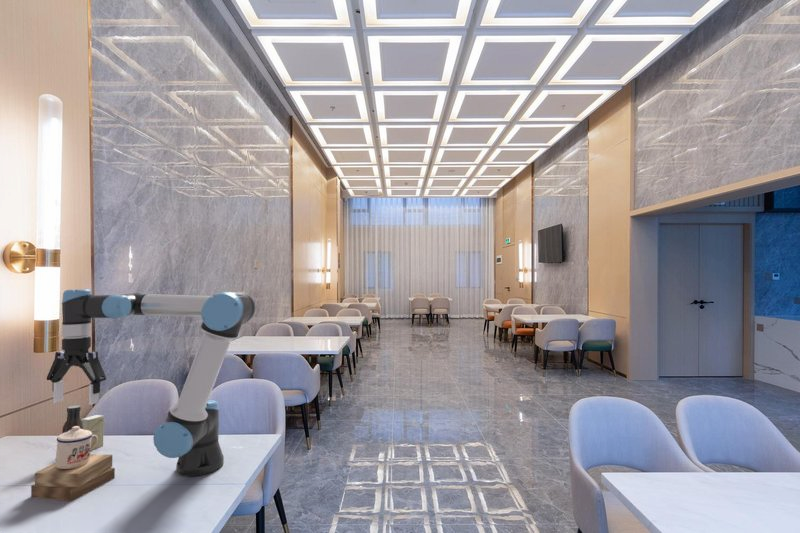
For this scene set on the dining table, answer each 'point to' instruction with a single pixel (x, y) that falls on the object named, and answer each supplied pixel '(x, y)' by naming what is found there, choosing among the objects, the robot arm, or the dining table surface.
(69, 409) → the sauce bottle
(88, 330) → the robot arm
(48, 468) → the tower top block
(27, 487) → the dining table surface
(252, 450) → the dining table surface
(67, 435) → the teacup with lid
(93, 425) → the skincare box
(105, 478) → the tower base block
